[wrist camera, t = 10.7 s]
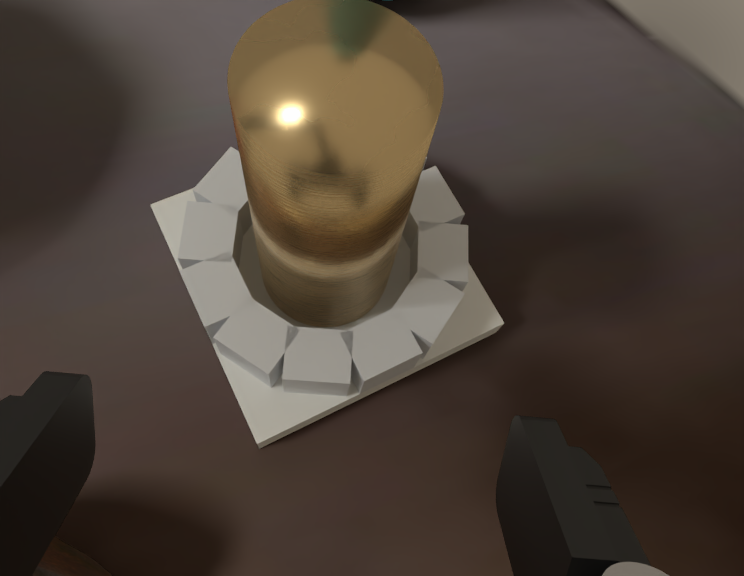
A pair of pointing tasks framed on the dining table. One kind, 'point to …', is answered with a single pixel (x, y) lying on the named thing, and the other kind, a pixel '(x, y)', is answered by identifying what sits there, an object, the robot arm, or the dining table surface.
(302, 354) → the seat block
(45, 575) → the bolt
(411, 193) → the cylinder
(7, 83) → the dining table surface
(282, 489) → the dining table surface
